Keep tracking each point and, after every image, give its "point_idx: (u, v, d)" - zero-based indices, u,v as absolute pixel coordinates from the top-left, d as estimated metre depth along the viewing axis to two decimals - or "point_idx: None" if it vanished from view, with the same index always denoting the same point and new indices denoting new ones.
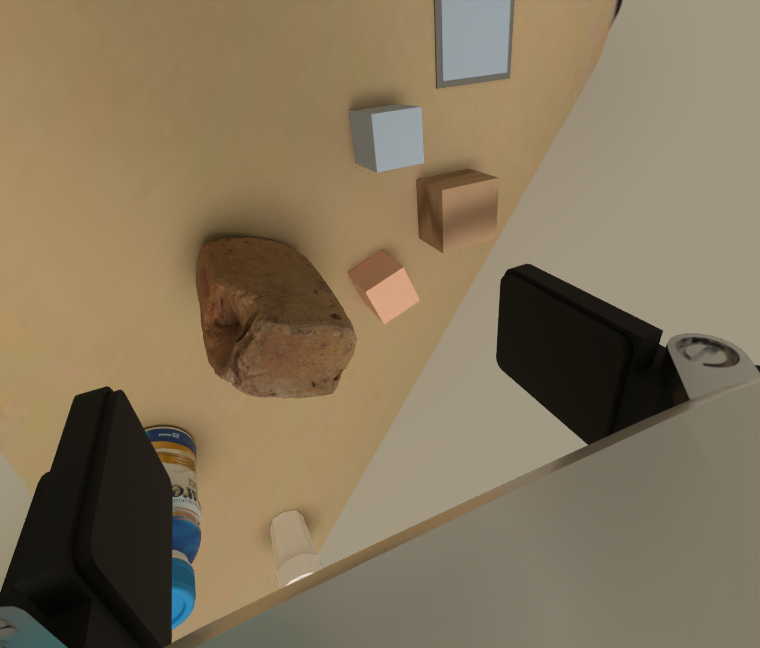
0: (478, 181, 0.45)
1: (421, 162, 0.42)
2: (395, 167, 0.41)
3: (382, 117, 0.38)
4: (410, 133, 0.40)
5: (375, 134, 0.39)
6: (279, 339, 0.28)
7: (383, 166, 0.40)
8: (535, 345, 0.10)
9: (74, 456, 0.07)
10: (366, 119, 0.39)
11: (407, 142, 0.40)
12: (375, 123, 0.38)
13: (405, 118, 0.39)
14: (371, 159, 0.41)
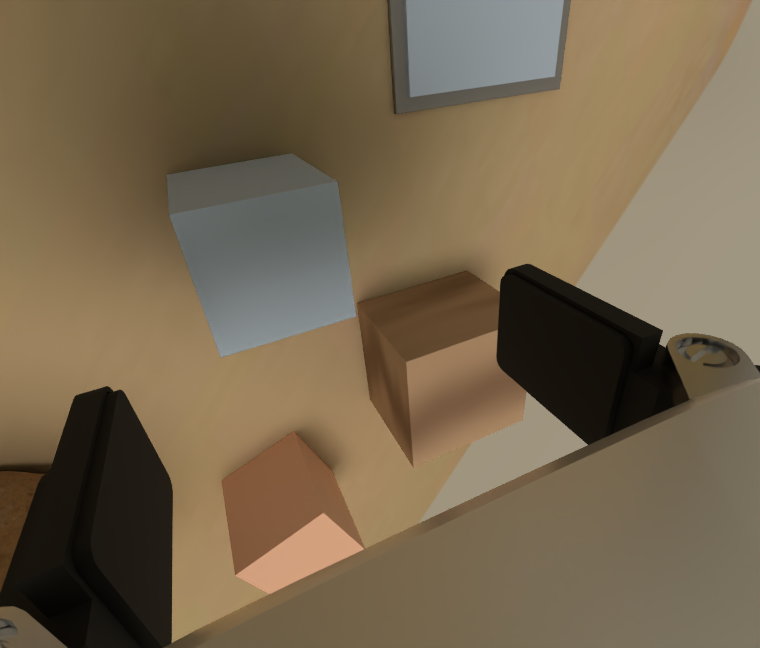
0: (491, 327, 0.20)
1: (349, 315, 0.16)
2: (275, 337, 0.15)
3: (209, 219, 0.12)
4: (310, 252, 0.14)
5: (195, 269, 0.13)
6: None
7: (238, 341, 0.15)
8: (535, 345, 0.10)
9: (74, 456, 0.07)
10: None
11: (304, 276, 0.14)
12: (191, 240, 0.12)
13: (288, 216, 0.13)
14: None
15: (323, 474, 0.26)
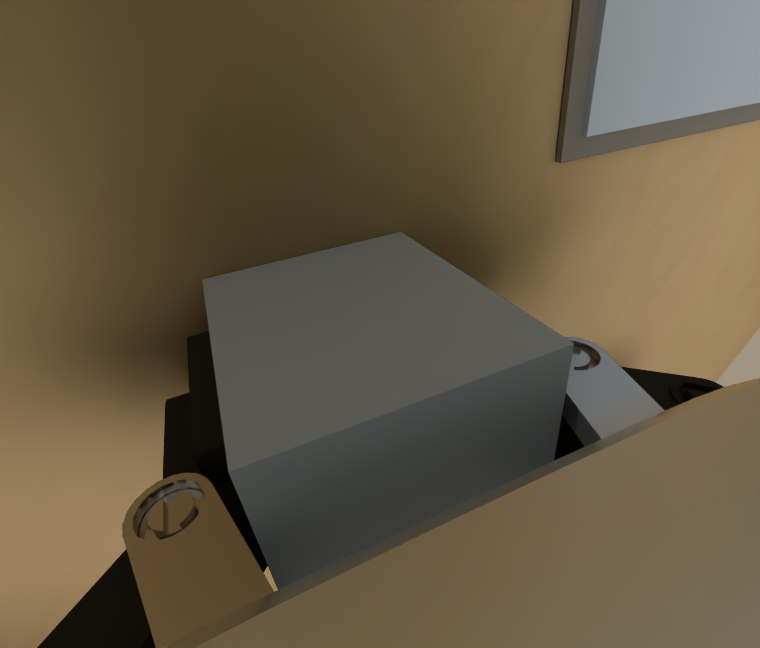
0: None
1: None
2: None
3: (318, 461, 0.05)
4: (495, 470, 0.07)
5: (277, 551, 0.06)
6: None
7: None
8: None
9: (205, 376, 0.08)
10: None
11: None
12: (273, 506, 0.05)
13: (472, 421, 0.06)
14: None
15: None
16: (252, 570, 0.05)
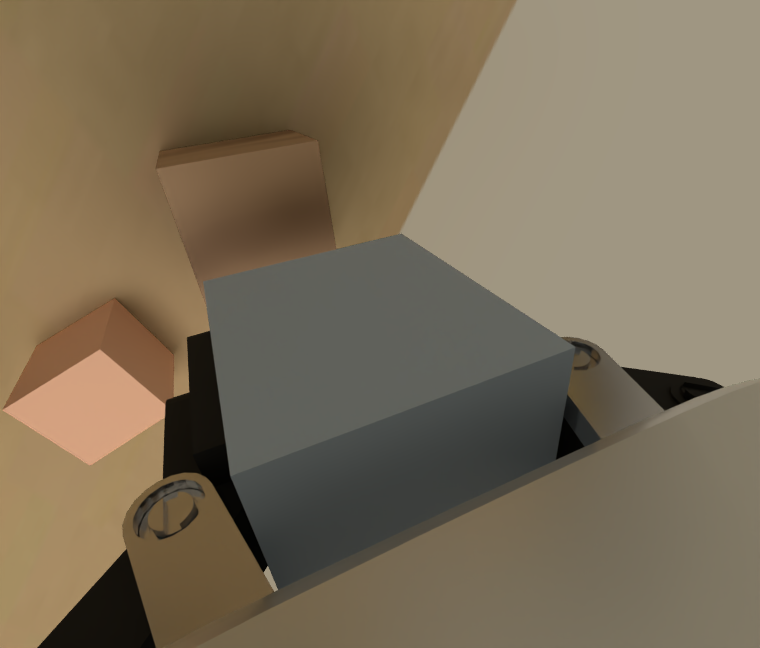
0: (265, 148, 0.19)
1: None
2: None
3: (320, 463, 0.05)
4: (496, 473, 0.07)
5: (278, 554, 0.06)
6: None
7: None
8: None
9: (205, 376, 0.08)
10: None
11: None
12: (276, 509, 0.05)
13: (473, 424, 0.06)
14: None
15: (146, 343, 0.25)
16: (252, 570, 0.05)
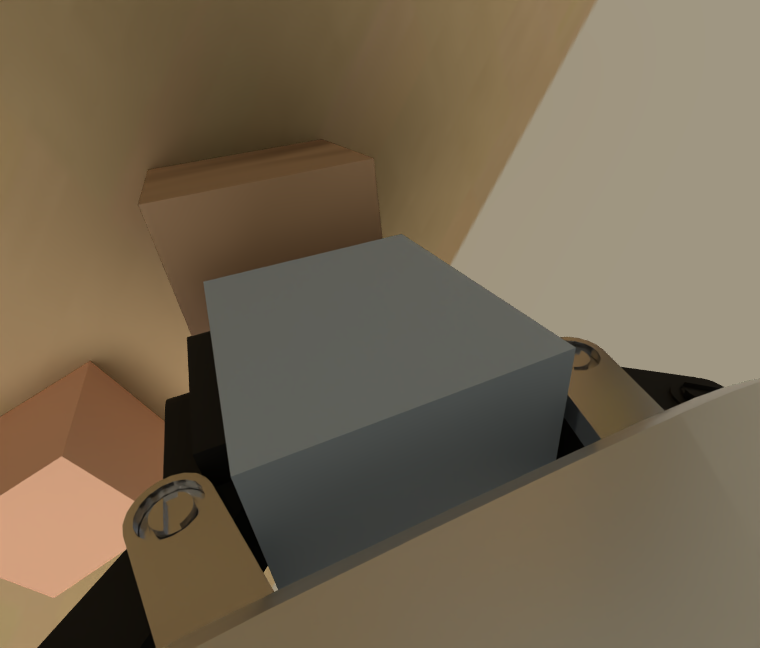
0: (299, 171, 0.13)
1: None
2: None
3: (320, 464, 0.05)
4: (496, 474, 0.07)
5: (278, 554, 0.06)
6: None
7: None
8: None
9: (205, 376, 0.08)
10: None
11: None
12: (276, 510, 0.05)
13: (474, 424, 0.06)
14: None
15: (131, 420, 0.19)
16: (252, 570, 0.05)
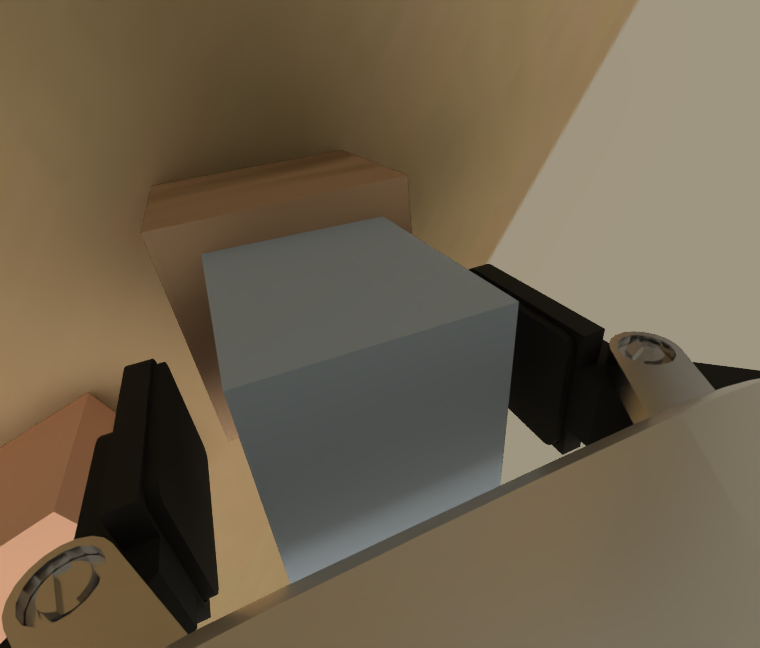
0: (323, 190, 0.12)
1: None
2: (379, 540, 0.09)
3: (297, 388, 0.06)
4: (454, 414, 0.08)
5: (263, 469, 0.07)
6: None
7: (321, 557, 0.08)
8: None
9: (133, 416, 0.07)
10: None
11: (437, 449, 0.08)
12: (261, 427, 0.06)
13: (431, 365, 0.07)
14: None
15: None
16: None
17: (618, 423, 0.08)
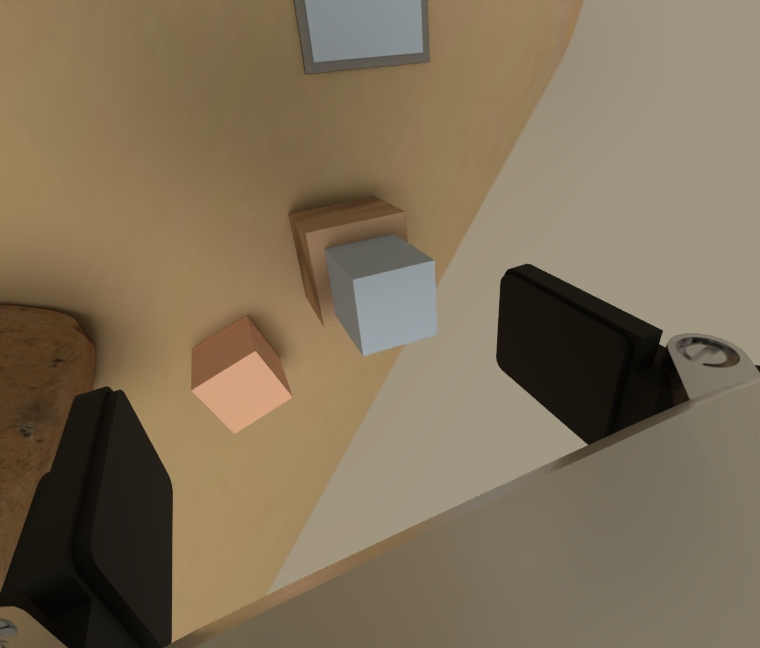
0: (371, 217, 0.29)
1: (433, 333, 0.27)
2: (392, 345, 0.26)
3: (370, 281, 0.24)
4: (416, 297, 0.25)
5: (359, 306, 0.24)
6: None
7: (373, 347, 0.26)
8: (535, 345, 0.10)
9: (74, 456, 0.07)
10: (346, 279, 0.24)
11: (412, 311, 0.25)
12: (360, 292, 0.24)
13: (408, 279, 0.24)
14: (355, 333, 0.26)
15: (267, 349, 0.34)
16: None
17: None
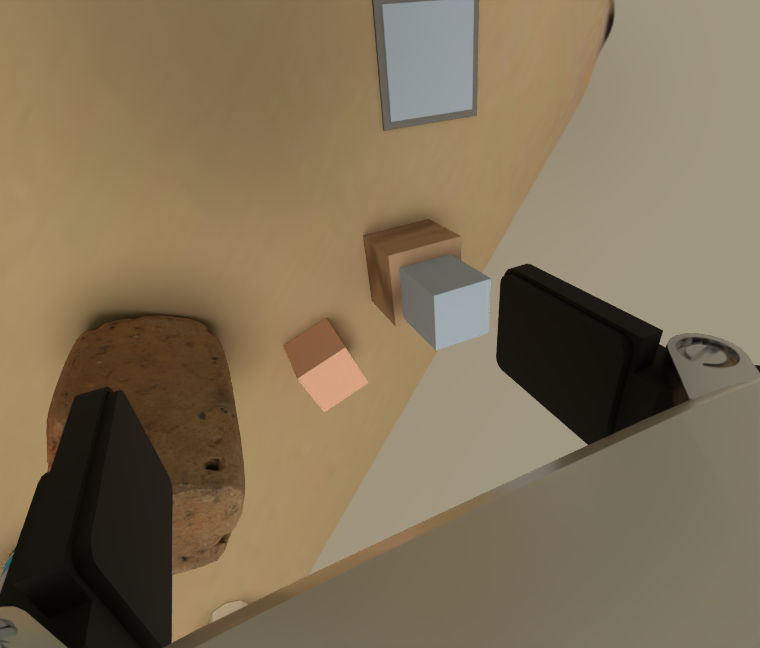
0: (435, 241, 0.37)
1: (486, 332, 0.35)
2: (456, 342, 0.34)
3: (445, 296, 0.32)
4: (476, 306, 0.34)
5: (436, 315, 0.32)
6: None
7: (443, 343, 0.34)
8: (535, 345, 0.10)
9: (74, 456, 0.07)
10: (425, 294, 0.33)
11: (472, 316, 0.34)
12: (438, 304, 0.32)
13: (471, 293, 0.33)
14: (428, 333, 0.34)
15: None
16: None
17: None
